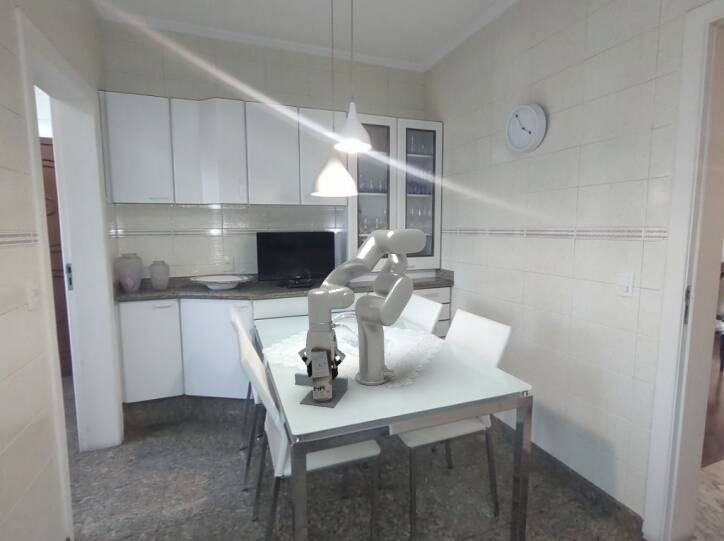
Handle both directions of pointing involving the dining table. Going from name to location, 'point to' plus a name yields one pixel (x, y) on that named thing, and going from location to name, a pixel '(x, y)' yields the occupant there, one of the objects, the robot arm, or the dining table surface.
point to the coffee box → (321, 373)
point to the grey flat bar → (307, 381)
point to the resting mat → (324, 399)
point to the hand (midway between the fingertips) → (322, 376)
